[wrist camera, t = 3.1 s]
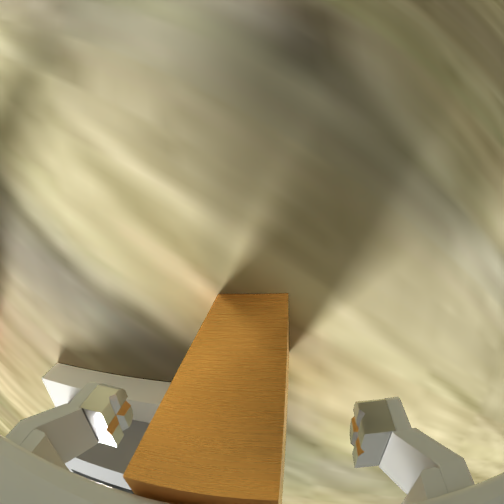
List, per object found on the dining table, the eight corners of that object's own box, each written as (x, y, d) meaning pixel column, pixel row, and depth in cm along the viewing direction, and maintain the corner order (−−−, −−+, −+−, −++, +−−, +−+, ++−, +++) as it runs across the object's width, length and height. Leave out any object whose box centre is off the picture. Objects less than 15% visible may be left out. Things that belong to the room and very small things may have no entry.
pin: (218, 294, 14) (122, 476, 5) (288, 293, 14) (278, 500, 4) (224, 351, 15) (162, 530, 6) (289, 352, 15) (278, 545, 5)
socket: (57, 362, 17) (7, 412, 12) (222, 386, 16) (195, 472, 10) (109, 465, 20) (83, 511, 15) (240, 490, 19) (229, 550, 13)
